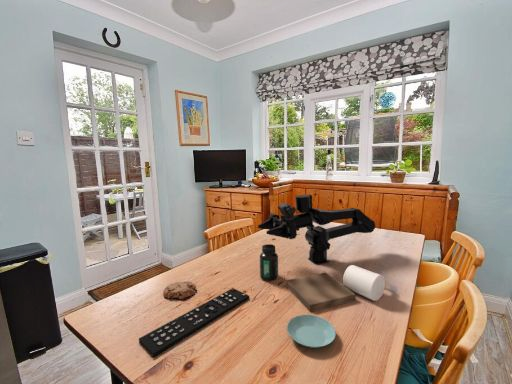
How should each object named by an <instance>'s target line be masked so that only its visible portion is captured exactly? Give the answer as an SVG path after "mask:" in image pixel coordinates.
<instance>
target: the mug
mask: <svg viewBox="0 0 512 384" xmlns="http://www.w3.org/2000/svg"><path fill="white" fill-rule="evenodd" d="M342 277H343V278H342V283H343V284H342V285H343V286H345V287H346V288H347V289H349V290H350V291H352V292H353V293H356V294H358V295H361V297H365V298H367V299H368V300H369V299H370V300H371V301H373V302H377V301H379V300H380V299H381V297H382V296H383V294H384V291H385V287H386V280H385V277H384V276H383V275H382V274H379V273H377V272H374V271H371V270H368V269H365V268H362V267H360V266H357V265H355V264H354V265H353V264H350V265H349V266H348V267H347V268H346V269H345V271H344V274H343V276H342Z"/></svg>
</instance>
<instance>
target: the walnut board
mask: <svg viewBox="0 0 512 384" xmlns="http://www.w3.org/2000/svg"><path fill="white" fill-rule="evenodd" d="M285 287H287V289H288V290H289V291H290V292H291V293H292V294H293V295H294V296H295V297H296V299H297V300H299V301H300V303H301V304H302V306H304V307H305V308H306V309H307V311H308V312H313V311H317V310H323V309H326V308H330V307H334V306H337V305H343V304H346V303H350V302H354V301H356V294H355V292H354V291H351V290H349V289H347V288H346V287H345V286H344V284H342V283H341V282H339V280H336V279H335V278H334V277H332V276H331V275H329V274H328V273H327V272H321V273H316V274H315V273H314V274H311V275H305V276H300V277H297V278H296V277H295V278H291V279H286V280H285Z"/></svg>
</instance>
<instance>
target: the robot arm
mask: <svg viewBox="0 0 512 384" xmlns="http://www.w3.org/2000/svg"><path fill="white" fill-rule="evenodd" d="M294 197H295V199H294V200H295V206H291V205H290V204H289V203H287V202H282V203H281V204H279V205H278V206H277V208H278V210H279V211H280V214H281V215H279V214H278V213H274V212H273V213H270V214H269V216H268V218H267V219H266V220H265V221H264V222H262V223H259V224H258V225H257V229H263V230H266V234H267V235H269V236H276V237H278V238H279V237H280V238H283V239H289V240H294V239H296V237H297V236H298V235H297V232H298V231H300V229H303V228H306V229H307V230H306V232H305V235H304V237H305V241H307V243H308V245H310V247H309V248H310V249H309V251H308V254H309V255H308V258H307V259H308V260H309V261H310V262H312V263H313V264H314V265H320V264H321V265H322V264H326V263H330V260H328V250H330V248H331V243H330V242H329V241H330V240H333V239H336V238H341V237H345V236H348V235H352V234H356V233H360V234H371V233H373V232H374V231H375V230H376V222H375V221H374V220H373V219H371V218H370V217H369V216H368V215H366V214H365V213H364V212H363V211H362V210H361V209H359V208H355V207H349V208H343V209H342V208H341V209H340V208H339V209H332V210H326V209H321V208H314V207H313V195H312V194H297V195H295V196H294ZM296 211H298V214H295V213H296ZM349 219H351V222H348V223H344V224H341V225H336V226H333V227H328V228H325V227H323V226H326V225H327V224H330V223H331V222H334V221H340V220H349ZM314 224H317V225H316V226H315V225H314Z"/></svg>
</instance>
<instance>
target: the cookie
mask: <svg viewBox="0 0 512 384" xmlns="http://www.w3.org/2000/svg"><path fill="white" fill-rule="evenodd" d="M196 290H197V284H195V283H193V282H192V281H175V282H173V283H170V284H168V285H167V286H166V287H165V288H164V289H163V293H162V295H163V297H164V298H167V299H178V300H183V299H185V298H187V297H191V296H193V295H194V294H195V292H196Z"/></svg>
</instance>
